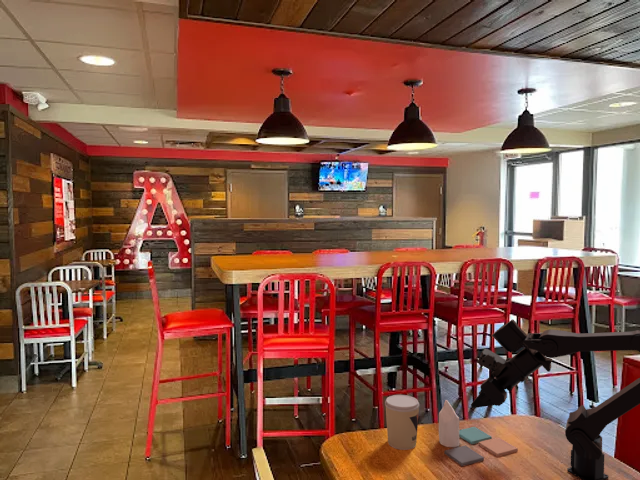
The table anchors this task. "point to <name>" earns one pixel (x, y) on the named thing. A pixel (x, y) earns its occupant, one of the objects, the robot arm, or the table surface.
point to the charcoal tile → (464, 455)
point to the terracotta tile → (498, 446)
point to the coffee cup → (402, 421)
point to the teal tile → (473, 435)
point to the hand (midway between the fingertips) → (475, 400)
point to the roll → (448, 426)
